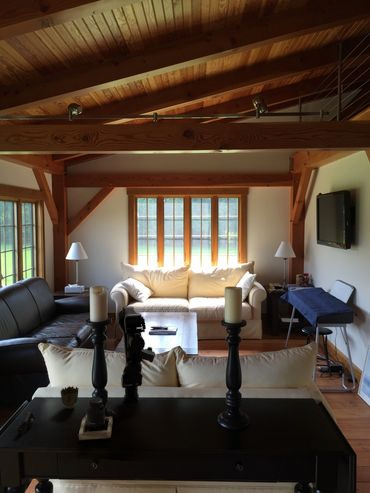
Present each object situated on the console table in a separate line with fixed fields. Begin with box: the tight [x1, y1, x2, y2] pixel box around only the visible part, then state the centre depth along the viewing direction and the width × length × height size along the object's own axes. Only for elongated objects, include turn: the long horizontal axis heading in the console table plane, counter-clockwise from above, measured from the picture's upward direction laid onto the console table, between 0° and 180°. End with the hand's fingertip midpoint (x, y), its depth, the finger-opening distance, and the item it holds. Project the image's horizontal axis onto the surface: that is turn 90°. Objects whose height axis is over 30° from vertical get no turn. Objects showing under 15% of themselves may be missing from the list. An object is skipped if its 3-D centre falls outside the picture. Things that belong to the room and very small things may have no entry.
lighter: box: [17, 411, 36, 436], centre depth 150 cm, size 9×2×6 cm
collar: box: [78, 416, 113, 441], centre depth 149 cm, size 11×11×2 cm
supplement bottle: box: [86, 396, 106, 432], centre depth 149 cm, size 7×7×12 cm
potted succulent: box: [60, 385, 80, 410], centre depth 167 cm, size 8×7×8 cm
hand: (134, 381), depth 163 cm, fingers open, 9 cm apart
